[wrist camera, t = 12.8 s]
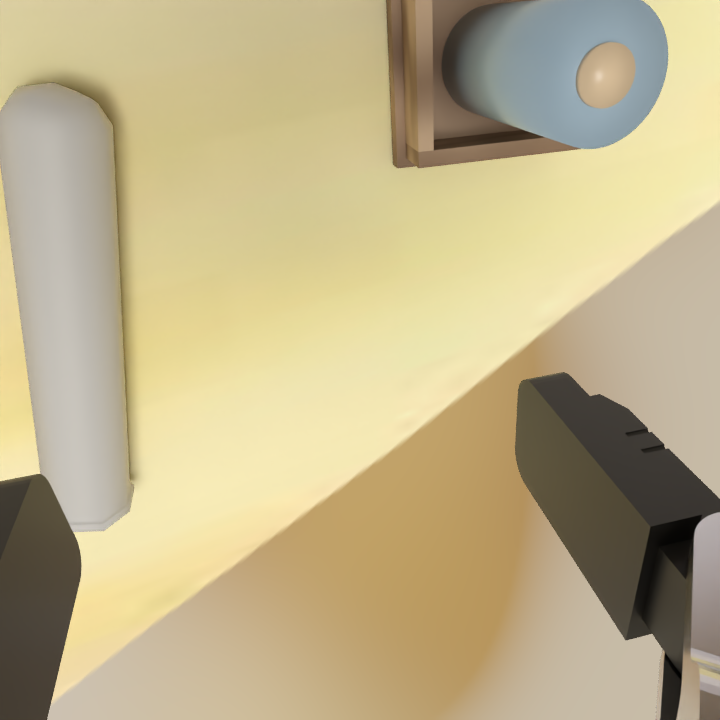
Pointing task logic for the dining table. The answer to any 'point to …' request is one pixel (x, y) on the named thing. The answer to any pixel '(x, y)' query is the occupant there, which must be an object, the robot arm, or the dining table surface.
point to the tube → (69, 295)
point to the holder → (441, 94)
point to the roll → (559, 67)
